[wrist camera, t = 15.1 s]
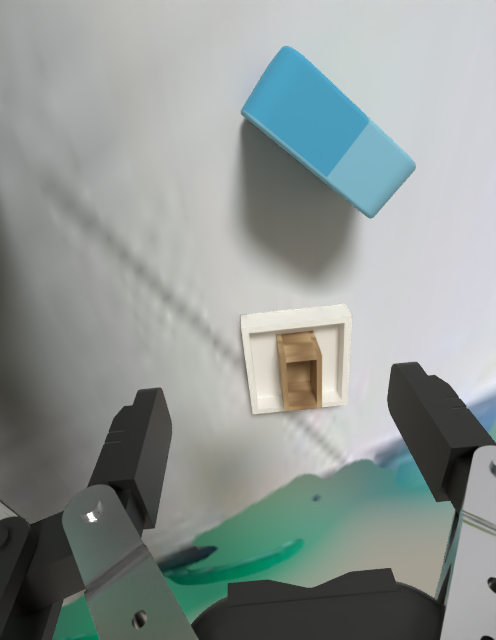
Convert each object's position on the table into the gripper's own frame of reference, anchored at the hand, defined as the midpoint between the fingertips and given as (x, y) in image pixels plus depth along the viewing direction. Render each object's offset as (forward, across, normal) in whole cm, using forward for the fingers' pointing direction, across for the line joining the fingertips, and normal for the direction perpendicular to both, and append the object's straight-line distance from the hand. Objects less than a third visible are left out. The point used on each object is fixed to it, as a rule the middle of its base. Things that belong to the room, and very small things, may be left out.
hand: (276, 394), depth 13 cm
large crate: (+28, -4, +19) cm, 34 cm away
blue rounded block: (+28, -6, -6) cm, 30 cm away
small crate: (+27, -4, +19) cm, 34 cm away
